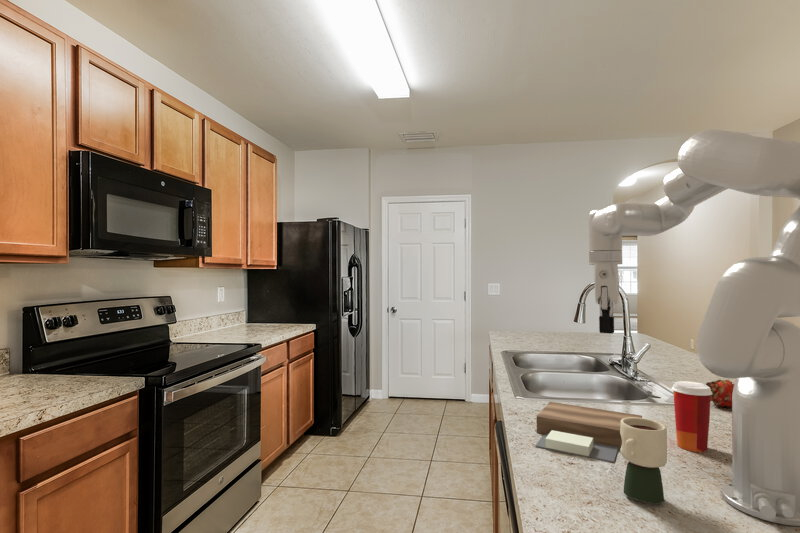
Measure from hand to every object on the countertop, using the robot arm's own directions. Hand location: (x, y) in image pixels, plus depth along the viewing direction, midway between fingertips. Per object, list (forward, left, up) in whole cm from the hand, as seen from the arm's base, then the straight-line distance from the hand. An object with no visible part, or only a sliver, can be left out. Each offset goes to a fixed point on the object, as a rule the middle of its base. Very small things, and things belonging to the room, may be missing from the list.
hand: (606, 332), depth 110 cm
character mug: (-32, -9, -25) cm, 41 cm away
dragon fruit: (+40, -26, -25) cm, 54 cm away
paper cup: (-1, -17, -25) cm, 30 cm away
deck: (-3, +4, -24) cm, 25 cm away
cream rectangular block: (-16, +6, -22) cm, 28 cm away
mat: (-15, +5, -24) cm, 29 cm away
